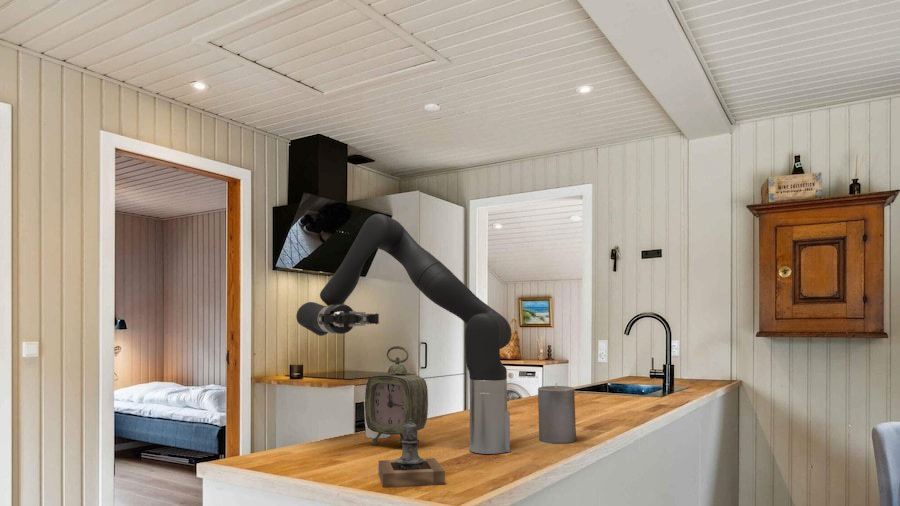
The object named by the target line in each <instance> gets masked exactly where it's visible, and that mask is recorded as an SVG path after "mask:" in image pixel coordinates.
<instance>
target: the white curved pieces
mask: <svg viewBox="0 0 900 506" xmlns="http://www.w3.org/2000/svg"><path fill="white" fill-rule="evenodd" d="M363 409H364V411H363V413H364V426H365V437H366V438H367V439H374V438H376V437H377V435H378V432H374V431H372V430H370V429H369V428H368V426H367V423H366V416H365V398H364V399H363ZM391 436H392V435H389V434H381V435H380V437H379V438H378V439H387V438H390V437H391Z"/></svg>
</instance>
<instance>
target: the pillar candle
mask: <svg viewBox="0 0 900 506" xmlns="http://www.w3.org/2000/svg"><path fill="white" fill-rule="evenodd" d="M575 395H576V394H575V388H574V387H572V386H565V385H558V383H557V382H556V383H555V385H547V386H541V387H540V386H539V387H538V388H537V402H538V403H537V405H538V408H537V409H538V441H539V442H542V443H546V444H554V445H555V444H572V443H575V442H576V440H577V429H576V426H577V425H576V401H575Z"/></svg>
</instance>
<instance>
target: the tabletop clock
mask: <svg viewBox="0 0 900 506" xmlns="http://www.w3.org/2000/svg"><path fill="white" fill-rule="evenodd" d="M392 350H401V351H403V352H405V354H406V357H405V358H404V359H400V357H398V356H396V357H395V359H393V358H391V357H390V356H389V355H390V352H391V351H392ZM409 355H410V354H409V351H408V350H407V349H406V348H405V347H403V346H398V345H396V346H392V347H389V349H387V352H386V357H387V359H388V361H389V362H391V363H395V364H392V365H390V366H389V368H388V370H387V374H383V375H381V374H380V375H375V376H370V377H369V378H368V380H367V382H366V387H365V394H364V395H365V398H364V399H365V415H364V417H365V416H366V423H367V426H368V428H369V429H370V430H372V431H374V432H378V435H377V437H376V438H371V444H372V445H373V446H376V445H377V444H378V443H379V440H378V439H379V437H380V435H381V434H389V435H391V436H392V435H399V437H400V439H399V443H400V444H401V445H403V443H402V442H401V441H402V440H403V426H404V424H405V423H408V422H409V418H411V419H412V420H411V422H413V423H415V424H416V425H417V431H420V430H423V429H424V428H425V426H426V423H427V420H428V411H429V410H428V409H429V398H428V397H429V394H428V391H429V390H428V385H427V381H426V379H425V378H423V377H422V376H419V375H416V374H410V373H409V374H408V370H407V368H406V366H405V365H404V364H403V363H404V362H406V361H407V360H408V359H409Z"/></svg>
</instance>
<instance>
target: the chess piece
mask: <svg viewBox="0 0 900 506" xmlns="http://www.w3.org/2000/svg"><path fill="white" fill-rule="evenodd" d="M411 420H412V419H411V418H409V422H408V423H405V424H404V426H403V440H402V441H401V442H402V443H403V444H402V453H401V455H400V457H399V458H396V459H395V460H396V462H397V467H398V469H399V470H419V469H422V466H423V462H424V461H425V460H424V459H425V458H423V457H420V455H419V451H418V448H419V446H418V443H419V442H420V440H419V439H418V430H417V425H416V424H415V423H413V422H411Z"/></svg>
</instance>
